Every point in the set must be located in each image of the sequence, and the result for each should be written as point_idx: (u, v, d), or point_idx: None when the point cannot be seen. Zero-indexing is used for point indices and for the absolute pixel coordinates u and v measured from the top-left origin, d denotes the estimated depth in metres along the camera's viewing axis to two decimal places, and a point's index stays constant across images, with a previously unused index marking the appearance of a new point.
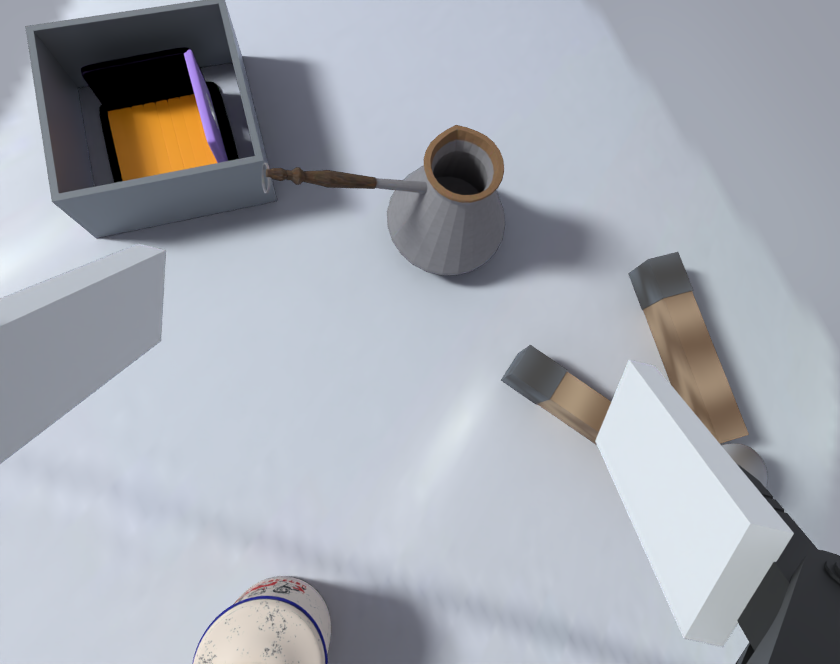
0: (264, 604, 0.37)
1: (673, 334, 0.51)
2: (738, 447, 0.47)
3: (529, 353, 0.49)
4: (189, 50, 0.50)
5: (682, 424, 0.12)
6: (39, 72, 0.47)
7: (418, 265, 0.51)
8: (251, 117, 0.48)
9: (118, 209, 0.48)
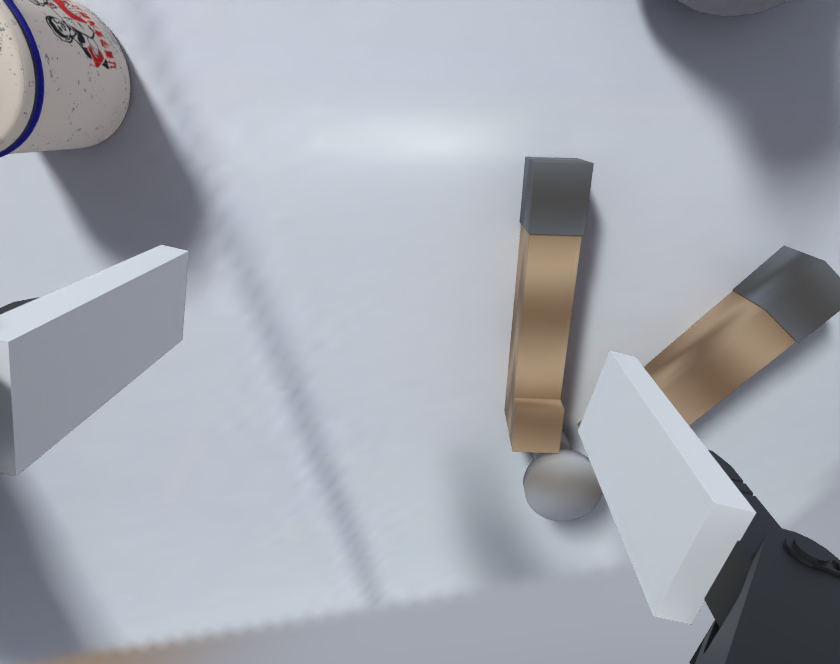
0: None
1: (713, 346, 0.34)
2: (594, 478, 0.35)
3: (579, 169, 0.30)
4: None
5: (656, 411, 0.12)
6: None
7: None
8: None
9: None
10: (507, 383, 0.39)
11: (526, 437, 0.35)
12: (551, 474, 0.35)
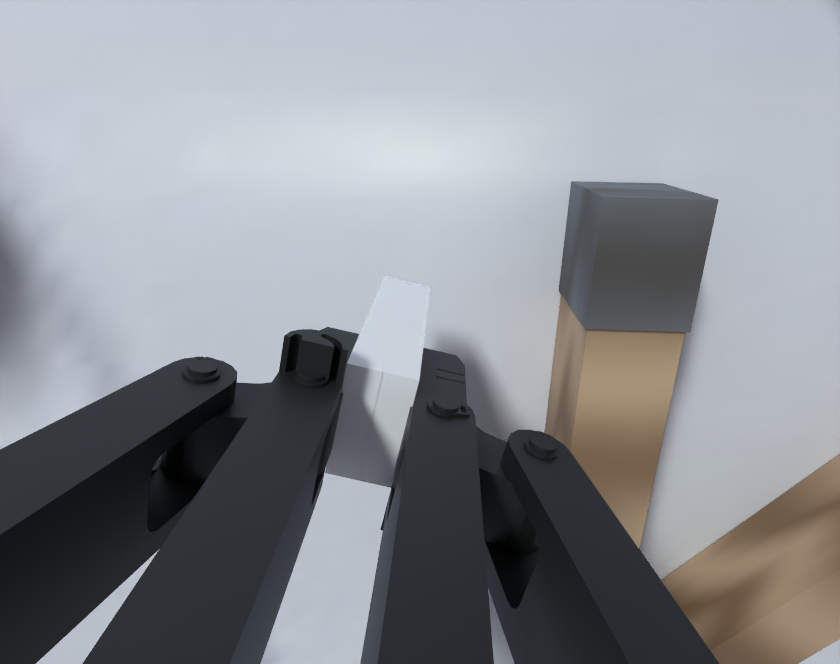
0: None
1: None
2: None
3: (689, 211, 0.15)
4: None
5: (402, 319, 0.14)
6: None
7: None
8: None
9: None
10: None
11: None
12: None
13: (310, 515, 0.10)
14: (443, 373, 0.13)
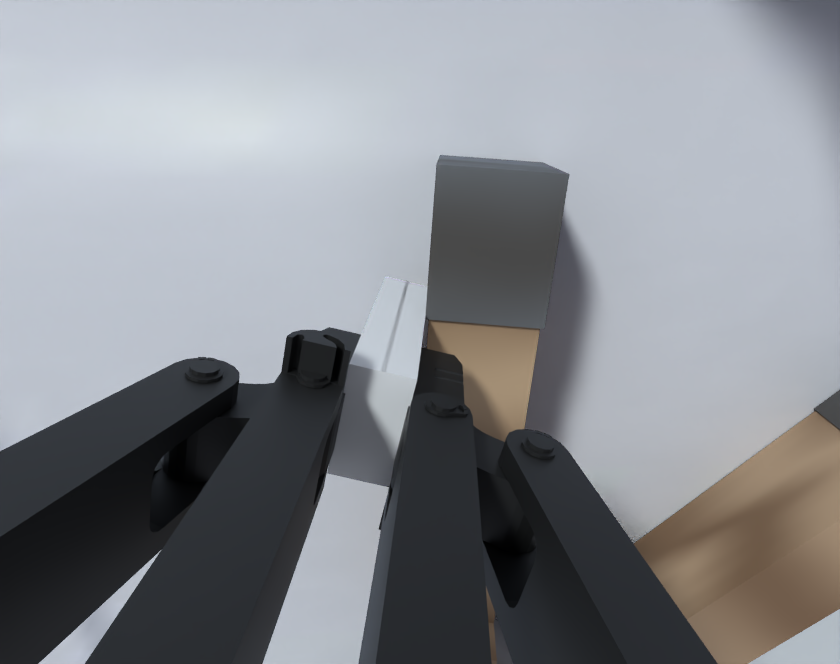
0: None
1: (785, 534, 0.17)
2: None
3: (536, 186, 0.13)
4: None
5: (401, 318, 0.14)
6: None
7: None
8: None
9: None
10: None
11: None
12: None
13: (312, 516, 0.10)
14: (441, 373, 0.13)
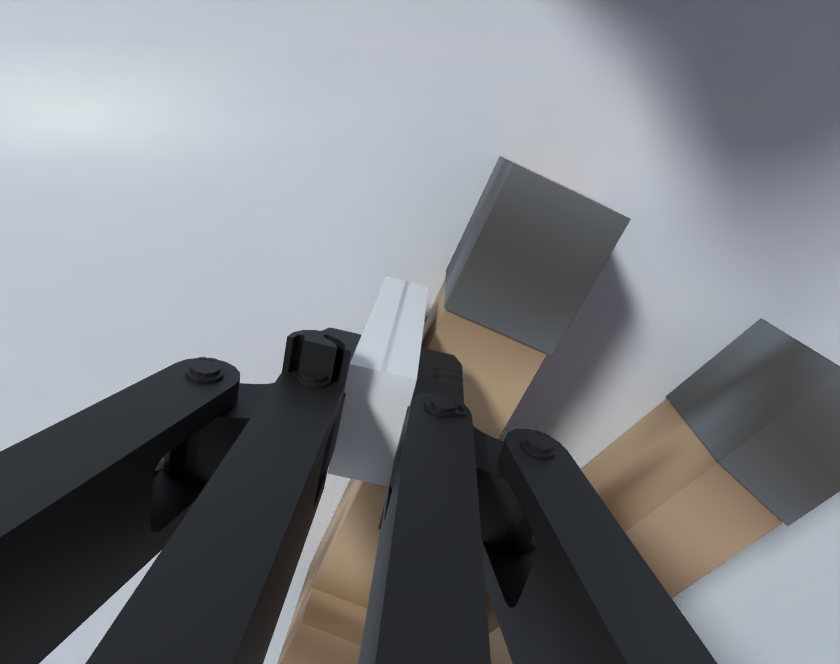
0: None
1: (619, 519, 0.17)
2: None
3: (597, 219, 0.13)
4: None
5: (400, 318, 0.14)
6: None
7: None
8: None
9: None
10: (327, 529, 0.22)
11: None
12: None
13: (313, 516, 0.10)
14: (441, 373, 0.13)
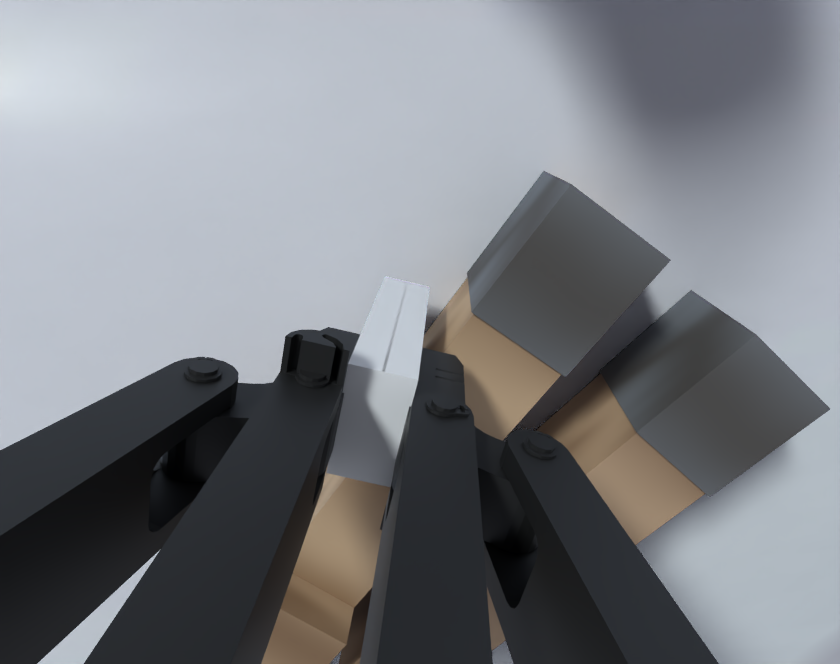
0: None
1: None
2: None
3: (638, 254, 0.14)
4: None
5: (401, 319, 0.14)
6: None
7: None
8: None
9: None
10: None
11: None
12: None
13: (311, 515, 0.10)
14: (442, 373, 0.13)
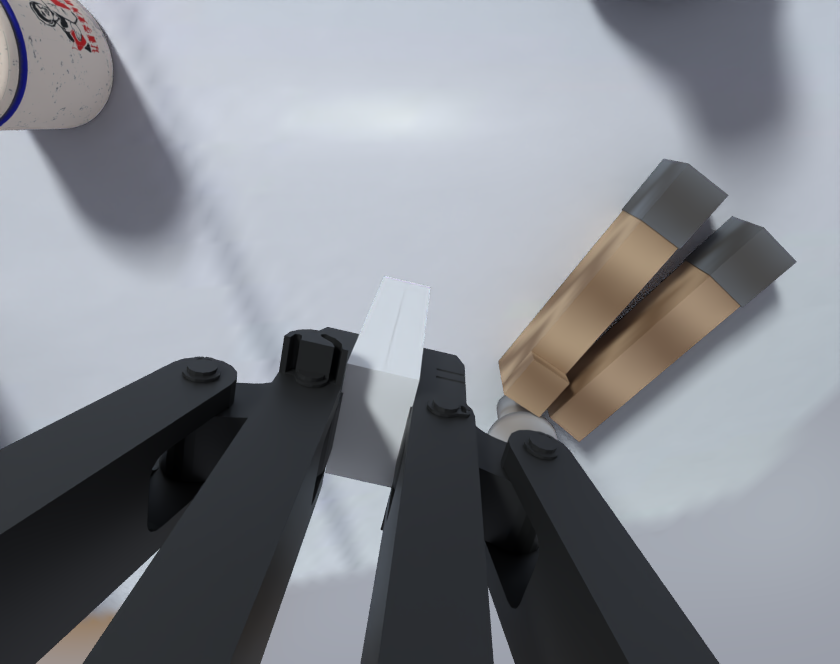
0: None
1: (663, 311, 0.36)
2: None
3: (715, 193, 0.32)
4: None
5: (402, 319, 0.14)
6: None
7: None
8: None
9: None
10: (518, 339, 0.41)
11: (523, 388, 0.37)
12: None
13: (310, 515, 0.10)
14: (443, 373, 0.13)
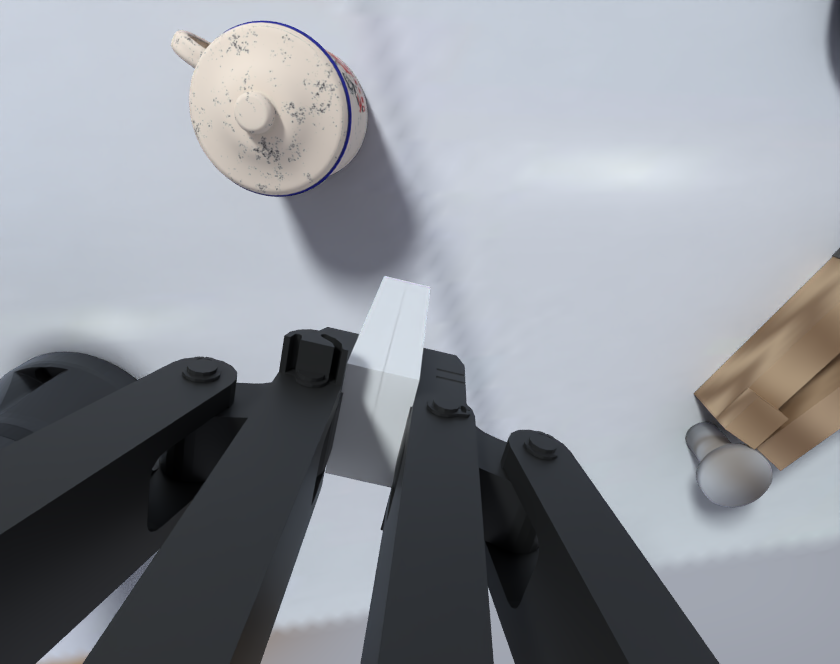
0: (328, 69, 0.29)
1: None
2: (766, 483, 0.40)
3: None
4: None
5: (402, 319, 0.14)
6: None
7: None
8: None
9: None
10: (717, 373, 0.43)
11: (744, 423, 0.39)
12: (740, 463, 0.40)
13: (310, 515, 0.10)
14: (443, 373, 0.13)
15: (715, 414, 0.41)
